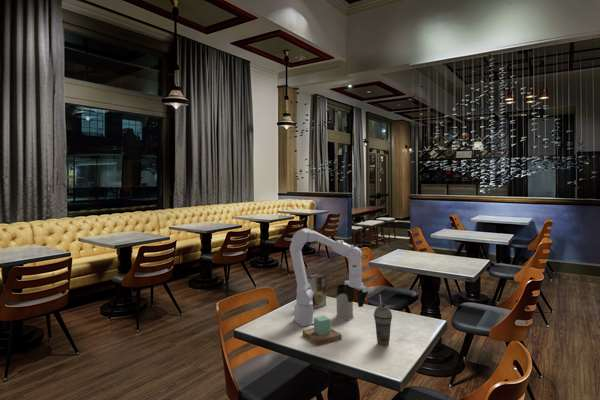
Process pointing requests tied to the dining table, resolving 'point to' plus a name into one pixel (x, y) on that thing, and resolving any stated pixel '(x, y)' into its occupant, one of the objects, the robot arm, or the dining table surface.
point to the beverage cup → (383, 324)
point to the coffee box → (318, 289)
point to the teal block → (322, 325)
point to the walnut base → (323, 338)
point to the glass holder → (343, 305)
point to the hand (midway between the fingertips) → (355, 304)
